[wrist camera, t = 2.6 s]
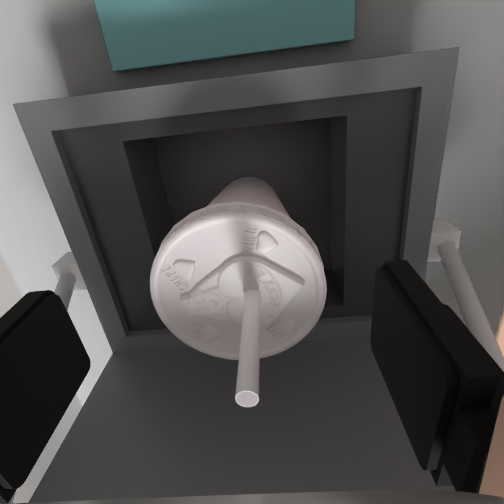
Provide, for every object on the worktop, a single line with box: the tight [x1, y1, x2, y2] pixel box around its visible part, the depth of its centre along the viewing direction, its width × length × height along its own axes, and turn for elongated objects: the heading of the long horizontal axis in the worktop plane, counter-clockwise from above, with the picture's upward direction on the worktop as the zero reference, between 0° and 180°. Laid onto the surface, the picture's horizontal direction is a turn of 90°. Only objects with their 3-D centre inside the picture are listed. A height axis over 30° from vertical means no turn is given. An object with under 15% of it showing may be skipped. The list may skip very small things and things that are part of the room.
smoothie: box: [150, 177, 327, 407], centre depth 14 cm, size 6×6×14 cm
